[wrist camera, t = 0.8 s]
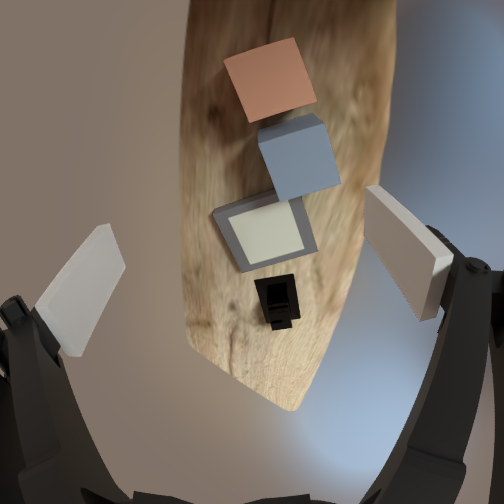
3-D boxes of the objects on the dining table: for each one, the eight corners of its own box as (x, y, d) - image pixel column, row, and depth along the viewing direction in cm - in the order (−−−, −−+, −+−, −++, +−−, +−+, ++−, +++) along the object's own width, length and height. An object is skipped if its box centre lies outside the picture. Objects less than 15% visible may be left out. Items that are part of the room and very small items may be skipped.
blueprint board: (296, 181, 32) (297, 187, 31) (316, 244, 37) (318, 251, 36) (214, 209, 35) (212, 215, 33) (242, 266, 39) (242, 273, 38)
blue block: (312, 112, 28) (324, 123, 23) (327, 163, 31) (341, 183, 26) (257, 129, 29) (257, 144, 24) (276, 179, 32) (280, 202, 27)
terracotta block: (286, 43, 24) (293, 37, 19) (306, 95, 27) (317, 101, 22) (229, 61, 25) (222, 59, 20) (250, 112, 28) (249, 123, 23)
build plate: (245, 269, 40) (244, 292, 37) (299, 260, 39) (303, 283, 36) (263, 327, 47) (263, 350, 44) (307, 321, 46) (311, 343, 43)
